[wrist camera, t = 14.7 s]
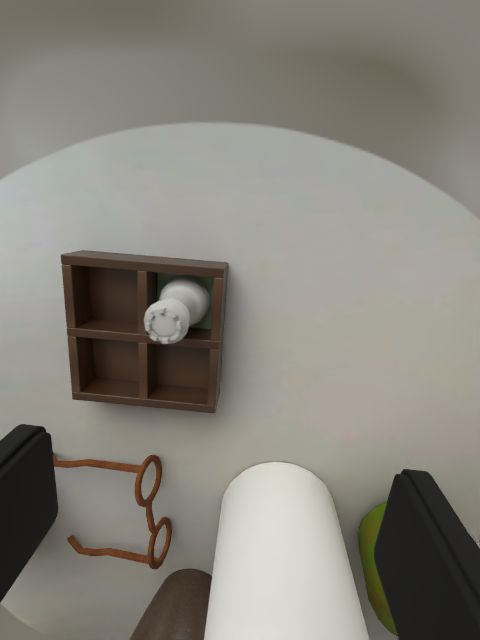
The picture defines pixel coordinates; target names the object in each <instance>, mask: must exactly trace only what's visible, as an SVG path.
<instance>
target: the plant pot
mask: <svg viewBox="0 0 480 640" xmlns="http://www.w3.org/2000/svg"><path fill="white" fill-rule="evenodd" d="M211 582H212V577H211V576H210V575H208V574H206V573H204V572H202V571H199V570H194V569H185V570H180V571H176V572H174V573H172V574H171V575H169V576H168V578H167V579H166V580H165V581H164V583H163V584H162V586H161V587H160V589H159V590H158V592H157V593H156V595H155V596H154V598H153V600H152V601H151V603H150V604H149V606H148V608H147V609H146V611H145V613H144V615H143V616H142V618H141V620H140V622H139V623H138V625H137V627H136V629H135V631H134V632H133V634H132V636H131V638H130V640H204V636H205V628H206V620H207V613H208V605H209V597H210V590H211Z"/></svg>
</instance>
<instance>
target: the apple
mask: <svg viewBox="0 0 480 640" xmlns="http://www.w3.org/2000/svg"><path fill="white" fill-rule="evenodd" d="M386 505H387V503H385V504H382V505H380V506H377V507H375V508H374V509H373V510H372V511H371V512H370V513H369V514H368V515H366V516H365V517H364V518H363V520H362V523H361V526H360V529H359V531H358V542H359V551H360V556H361V561H362V567H363V572H364V578H365V583H366V589H367V594H368V600H369V602H370V603H371V605H372V607H373V609H374V611H375V613H376V615H377V617H378V619H379V620H380V621H381V622H382V624H383V625H384V626H385V627H386V628H387V629H388V630H389V631H390V632H391V633H393V634H395V635H396V636H398V634H397V631H396V628H395V625H394V622H393V619H392V616H391V613H390V609H389V606H388V603H387V600H386V597H385V594H384V591H383V588H382V584H381V581H380V578H379V575H378V572H377V569H376V566H375V561H374V547H375V543H376V540H377V536H378V533H379V529H380V526H381V522H382V519H383V515H384V512H385V508H386Z"/></svg>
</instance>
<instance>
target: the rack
mask: <svg viewBox="0 0 480 640" xmlns="http://www.w3.org/2000/svg"><path fill="white" fill-rule="evenodd" d="M61 262H62V264H63V265H62V273H63V285H64V297H65V310H66V322H67V327H68V328H67V335H68V347H69V360H70V372H71V384H72V397H73V399H75V400H85V401H95V402H105V403H116V404H126V405H136V406H147V407H157V408H167V409H177V410H188V411H198V412H208V413H215V411H216V407H217V402H218V398H219V393H220V378H221V363H222V347H223V332H224V317H225V301H226V286H227V271H228V263H227V262H215V261H203V260H191V259H179V258H167V257H155V256H144V255H132V254H120V253H108V252H96V251H84V250H83V251H77V252H72V253H67V254H62V255H61ZM183 276H188V277H191V278H194V279H197V280H198V281H199V282H201V283H202V284H203V285H204V286H205V288H206V290H207V292H208V293H209V299H210V306H209V309H208V312H207V314H206V315H205V316H204V317H203V318H202V319H201V320H200V321H199V322H198V323H196V324H194V325H192V326H189V327H188V331H187V334H186V335H185V336H184V337H183V338H182V340H180V341H178V342H175V343H170V344H162V343H161V342H158V341H154V340H152V339H151V338H150V335H149V333H148V332H147V331H146V330H145V324H144V317H145V313H146V311H147V309H148V308H149V307H150V306H151V305H152V304H154V303H156V302H158V301H159V298H160V294H161V291H162V290H163V288H164V287H165V286H166V285H167V283H168V282H169V281H171V280H173V279H174V278H176V277H183Z"/></svg>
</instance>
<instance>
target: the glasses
mask: <svg viewBox="0 0 480 640" xmlns="http://www.w3.org/2000/svg"><path fill="white" fill-rule="evenodd" d="M53 462H54V466H55V467H66V468H70V467H80V466H90V467H98V468H105V469H112V470H120V471H127V472H134V473H138V474H137V478H136V482H135V497H136V501H137V503H138V505H139V506H142V507H146V517H147V522H148V527H149V531H150V532H151V533H152V535H151V537H150V542H149V548H148V556H146V555H141V554H136V553H131V552H127V551H122V550H117V549H112V548H106V549H89V548H83V547H82V546H81V545H80V544H79V542H78V541H77V540H76V539H75V538H74V537H73V536H70V537H69V538H67V540H68V542H69V543H70V544H71V545H72V547H73V548H74V549H75V550H76V551H77V553H78V554H83V555H90V556H103V555H109V556H114V557H118V558H123V559H128V560H133V561H137V562H142V563H147V564H149V566H150V567H151V568H152V569H158V568H159V567H160V566H161V565H162V563H163V561H164V559H165V557H166V555H167V552H168V549H169V546H170V542H171V534H172V527H171V521H170V519H169V518H167V517H163V518H162V519H161V520H160V521H159V522H158V524H157V525H156V527H155V524H154V519H153V513H152V501H153V499H154V497H155V495H156V493H157V491H158V489H159V486H160V482H161V476H162V467H161V461H160V459H159V457H158V456H156V455H150V456H149V457H147V458H146V459H145V461H144V462H143V464H142V465H141V466H137V465H130V464H122V463H115V462H107V461H99V460H92V459H87V460H79V461H58V460H57V459H56V458H55V456H54V455H53ZM151 462H154V463H155V466H156V481H155V485H154V487H153V490H152V492H151V493H150V495H149V497H148V498H147V499H146V500H144V499H143V497H142V493H141V483H142V478H143V475H144V472H145V470H146V468H147V467H148V465H149V464H150V463H151ZM164 524H165V525H166V529H167V537H166V543H165V546H164V549H163V552H162V554H161V556H160V558H156V557H154V545H155V540H156V537H157V534H158V532H159V530H160V529H161V527H162V526H163V525H164Z"/></svg>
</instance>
